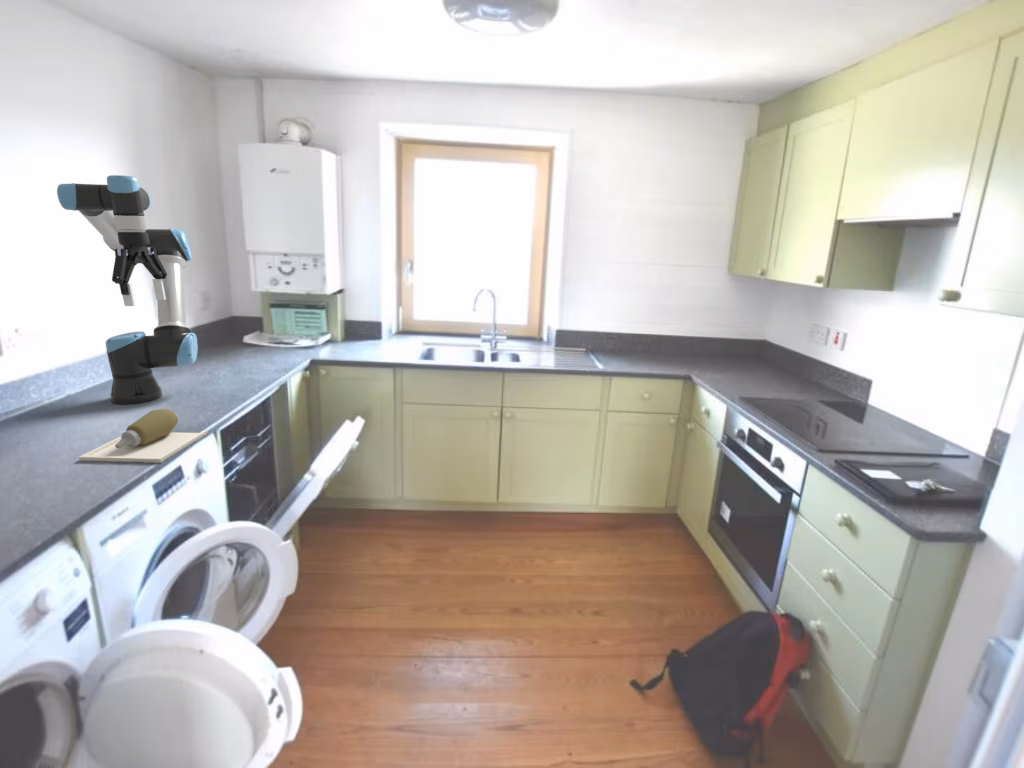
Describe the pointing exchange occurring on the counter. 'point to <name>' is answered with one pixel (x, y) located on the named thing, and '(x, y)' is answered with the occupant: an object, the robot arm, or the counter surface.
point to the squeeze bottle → (148, 428)
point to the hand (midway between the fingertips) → (146, 302)
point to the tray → (144, 449)
